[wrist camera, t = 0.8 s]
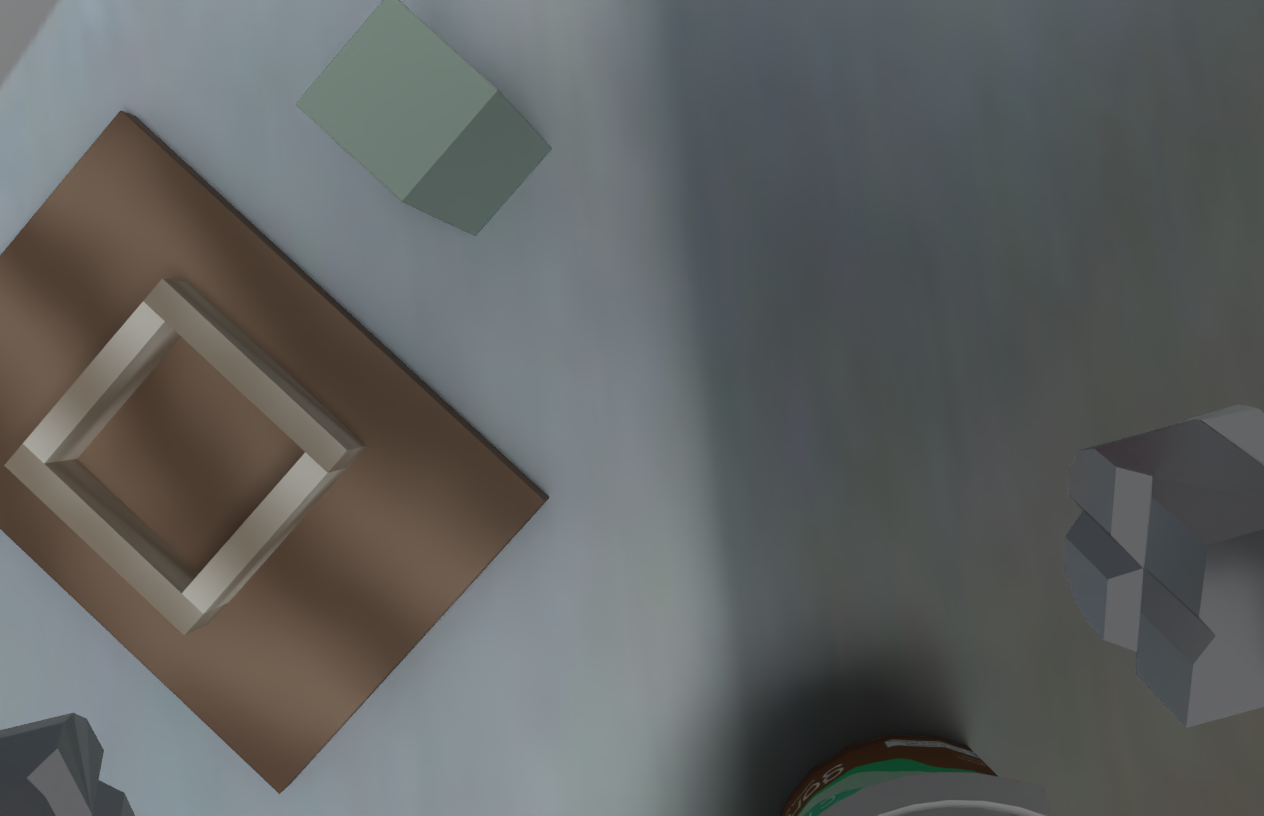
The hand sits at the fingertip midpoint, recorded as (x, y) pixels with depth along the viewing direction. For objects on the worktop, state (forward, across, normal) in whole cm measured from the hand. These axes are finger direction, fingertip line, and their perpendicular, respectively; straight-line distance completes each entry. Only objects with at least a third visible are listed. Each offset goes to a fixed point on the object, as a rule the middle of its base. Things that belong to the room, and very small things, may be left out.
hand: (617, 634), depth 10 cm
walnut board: (+32, +9, +14) cm, 36 cm away
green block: (+34, -2, +6) cm, 34 cm away
